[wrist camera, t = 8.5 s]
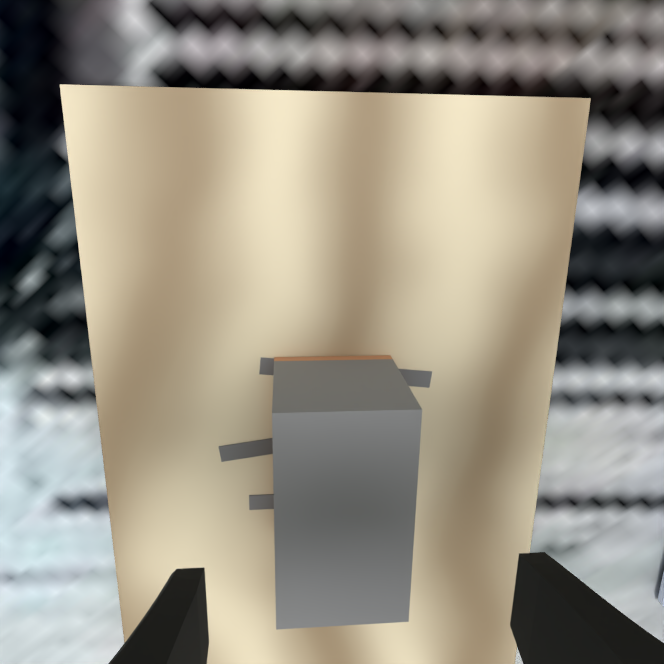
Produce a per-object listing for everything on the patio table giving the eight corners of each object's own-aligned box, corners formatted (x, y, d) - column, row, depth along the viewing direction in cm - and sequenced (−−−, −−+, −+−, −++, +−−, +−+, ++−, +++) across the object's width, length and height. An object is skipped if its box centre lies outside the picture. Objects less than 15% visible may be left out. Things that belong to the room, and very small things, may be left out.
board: (566, 103, 19) (591, 98, 17) (493, 696, 26) (506, 728, 25) (78, 91, 17) (59, 84, 16) (145, 721, 25) (137, 757, 23)
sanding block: (390, 355, 19) (422, 409, 15) (382, 529, 21) (408, 621, 17) (274, 357, 19) (271, 413, 14) (277, 534, 21) (276, 629, 16)
